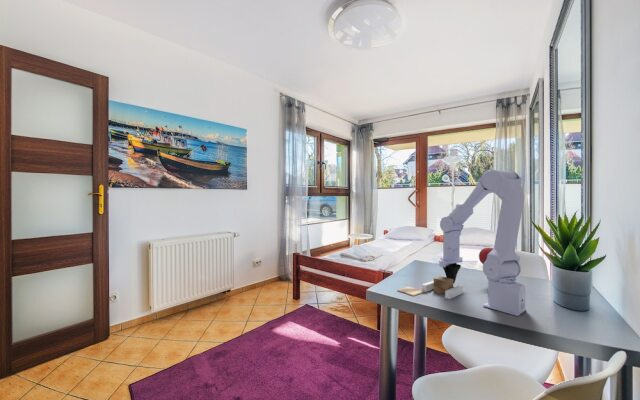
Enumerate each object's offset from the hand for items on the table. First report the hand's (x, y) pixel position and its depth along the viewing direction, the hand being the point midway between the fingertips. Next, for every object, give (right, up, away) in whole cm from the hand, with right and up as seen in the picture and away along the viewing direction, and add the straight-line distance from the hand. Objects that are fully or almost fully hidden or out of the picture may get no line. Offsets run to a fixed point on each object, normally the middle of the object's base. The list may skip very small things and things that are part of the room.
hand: (451, 282), depth 104 cm
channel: (-5, -2, -4) cm, 7 cm away
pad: (-17, -2, -4) cm, 18 cm away
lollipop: (+19, -3, +5) cm, 19 cm away
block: (-5, -2, -4) cm, 6 cm away
